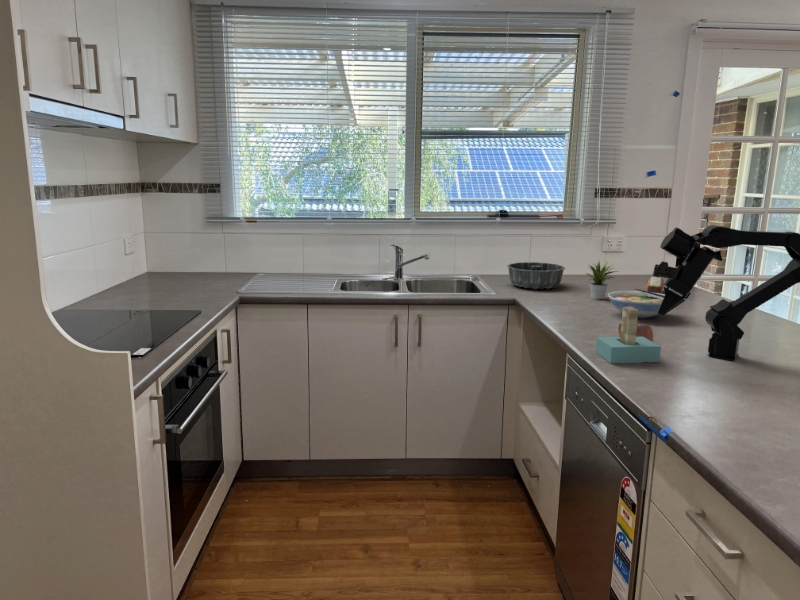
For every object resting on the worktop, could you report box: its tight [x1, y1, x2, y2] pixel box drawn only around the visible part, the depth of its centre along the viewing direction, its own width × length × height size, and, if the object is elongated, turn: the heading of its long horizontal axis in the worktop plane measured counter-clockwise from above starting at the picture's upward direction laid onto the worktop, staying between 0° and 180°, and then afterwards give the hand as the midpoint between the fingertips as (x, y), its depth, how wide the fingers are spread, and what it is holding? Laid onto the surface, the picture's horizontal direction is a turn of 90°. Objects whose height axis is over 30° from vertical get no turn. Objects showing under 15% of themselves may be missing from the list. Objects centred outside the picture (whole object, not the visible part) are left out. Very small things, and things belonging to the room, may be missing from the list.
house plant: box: [585, 260, 620, 300], centre depth 234 cm, size 14×14×16 cm
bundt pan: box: [507, 261, 566, 290], centre depth 264 cm, size 26×26×10 cm
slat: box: [619, 307, 639, 345], centre depth 155 cm, size 4×2×14 cm, turn 5°
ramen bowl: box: [607, 288, 665, 319], centre depth 205 cm, size 25×23×8 cm
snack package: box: [645, 276, 665, 294], centre depth 245 cm, size 21×7×7 cm, turn 154°
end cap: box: [595, 336, 662, 364], centre depth 156 cm, size 10×14×4 cm
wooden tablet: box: [617, 322, 654, 342], centre depth 180 cm, size 27×10×2 cm, turn 159°
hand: (660, 314), depth 157 cm, fingers open, 9 cm apart
